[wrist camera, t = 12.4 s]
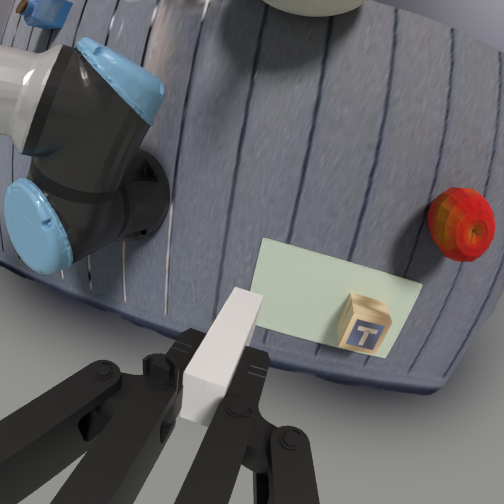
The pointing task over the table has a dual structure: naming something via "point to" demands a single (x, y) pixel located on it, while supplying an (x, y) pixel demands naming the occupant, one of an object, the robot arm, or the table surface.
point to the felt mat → (323, 293)
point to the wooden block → (363, 324)
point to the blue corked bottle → (44, 12)
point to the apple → (461, 224)
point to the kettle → (315, 6)
